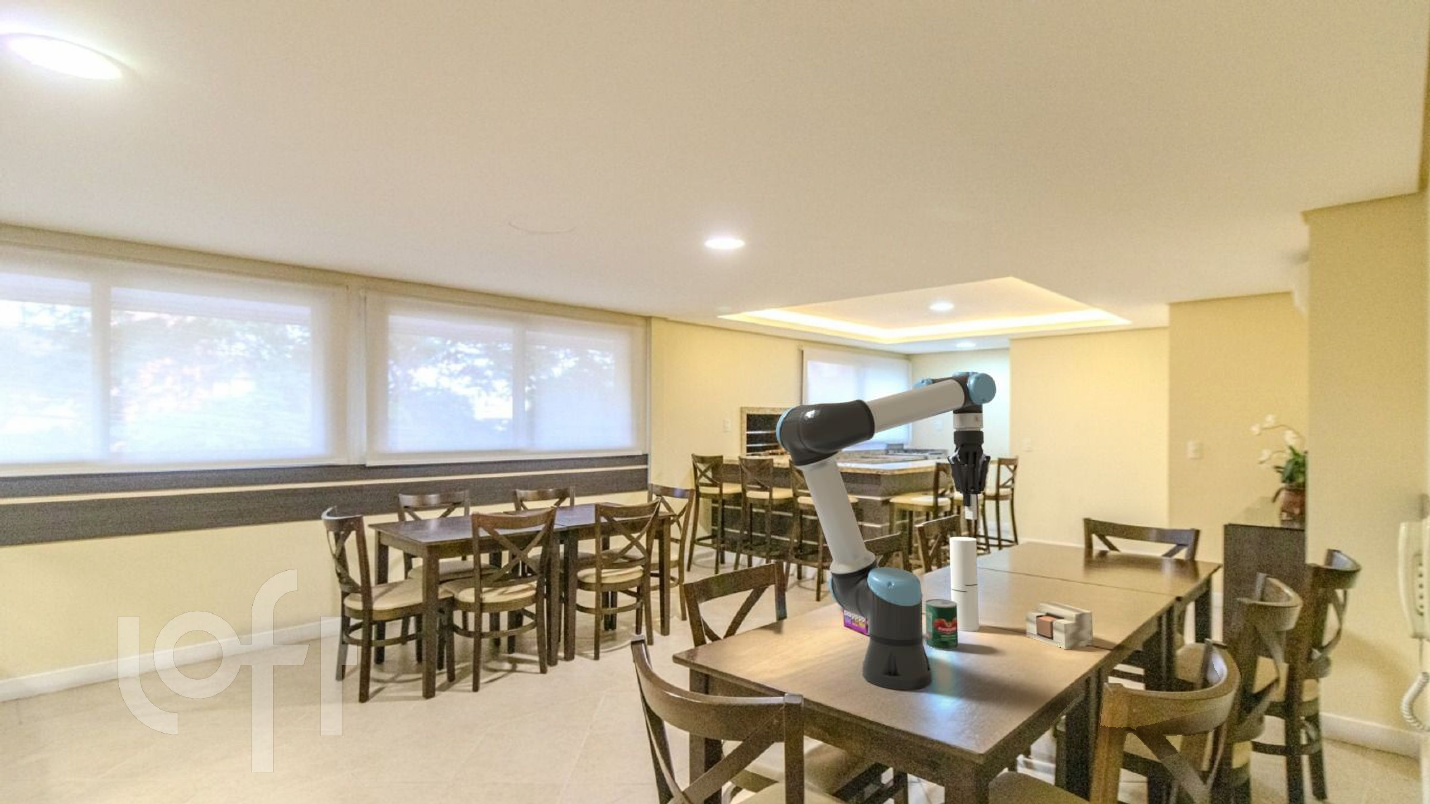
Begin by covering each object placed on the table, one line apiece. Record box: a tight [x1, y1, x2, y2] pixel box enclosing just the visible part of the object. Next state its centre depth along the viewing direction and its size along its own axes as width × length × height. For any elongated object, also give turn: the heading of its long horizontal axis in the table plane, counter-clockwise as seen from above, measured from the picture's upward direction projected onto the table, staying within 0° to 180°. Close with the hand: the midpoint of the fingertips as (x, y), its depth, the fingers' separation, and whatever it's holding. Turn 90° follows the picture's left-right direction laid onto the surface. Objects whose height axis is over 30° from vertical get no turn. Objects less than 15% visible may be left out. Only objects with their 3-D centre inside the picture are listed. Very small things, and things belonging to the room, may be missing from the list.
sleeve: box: [1025, 601, 1094, 650], centre depth 172 cm, size 10×12×8 cm
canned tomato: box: [924, 598, 959, 651], centre depth 169 cm, size 8×8×11 cm
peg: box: [1037, 616, 1060, 637], centre depth 172 cm, size 10×4×4 cm, turn 112°
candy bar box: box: [842, 608, 870, 636], centre depth 184 cm, size 11×5×16 cm, turn 25°
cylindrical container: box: [949, 536, 980, 632], centre depth 185 cm, size 7×7×25 cm
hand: (971, 518), depth 172 cm, fingers closed
